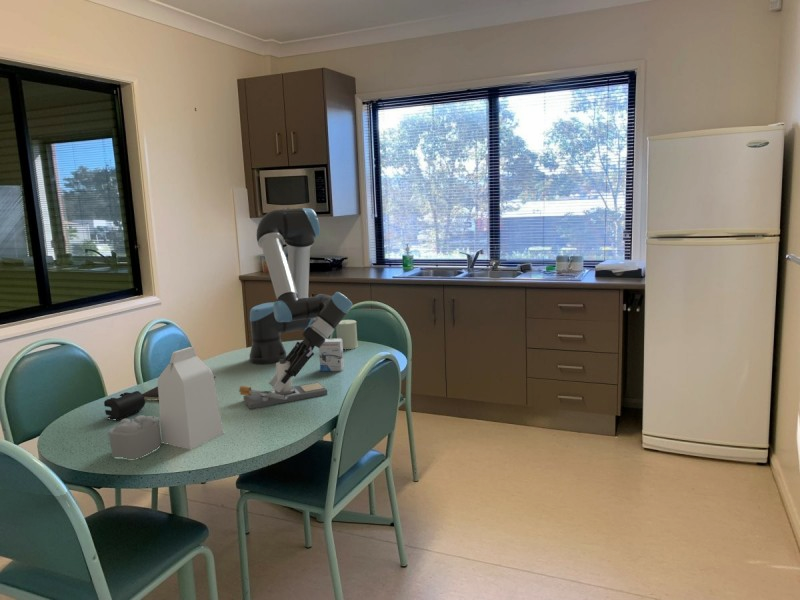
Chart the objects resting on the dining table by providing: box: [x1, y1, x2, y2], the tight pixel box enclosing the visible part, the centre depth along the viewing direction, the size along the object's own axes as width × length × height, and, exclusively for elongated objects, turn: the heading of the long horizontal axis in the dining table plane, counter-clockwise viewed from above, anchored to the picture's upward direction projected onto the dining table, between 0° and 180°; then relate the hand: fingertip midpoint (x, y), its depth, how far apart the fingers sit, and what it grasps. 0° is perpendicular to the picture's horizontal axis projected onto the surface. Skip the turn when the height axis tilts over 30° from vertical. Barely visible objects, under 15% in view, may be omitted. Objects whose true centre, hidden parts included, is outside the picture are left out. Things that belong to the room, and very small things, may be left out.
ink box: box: [318, 338, 345, 372], centre depth 228 cm, size 9×5×12 cm, turn 84°
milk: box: [157, 346, 224, 450], centre depth 167 cm, size 12×12×26 cm
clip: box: [238, 385, 288, 400], centre depth 194 cm, size 3×20×3 cm, turn 60°
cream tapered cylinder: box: [335, 319, 359, 351], centre depth 261 cm, size 9×9×12 cm
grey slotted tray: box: [243, 381, 328, 410], centre depth 200 cm, size 10×26×3 cm, turn 115°
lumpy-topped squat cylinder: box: [108, 414, 162, 459], centre depth 162 cm, size 10×13×9 cm
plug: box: [274, 359, 295, 395], centre depth 199 cm, size 7×7×13 cm
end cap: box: [103, 390, 146, 421], centre depth 190 cm, size 10×7×7 cm
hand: (273, 387), depth 198 cm, fingers closed on plug, 4 cm apart
